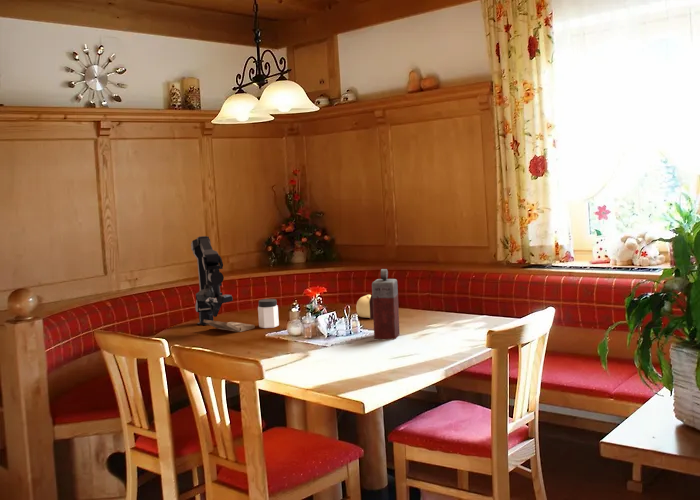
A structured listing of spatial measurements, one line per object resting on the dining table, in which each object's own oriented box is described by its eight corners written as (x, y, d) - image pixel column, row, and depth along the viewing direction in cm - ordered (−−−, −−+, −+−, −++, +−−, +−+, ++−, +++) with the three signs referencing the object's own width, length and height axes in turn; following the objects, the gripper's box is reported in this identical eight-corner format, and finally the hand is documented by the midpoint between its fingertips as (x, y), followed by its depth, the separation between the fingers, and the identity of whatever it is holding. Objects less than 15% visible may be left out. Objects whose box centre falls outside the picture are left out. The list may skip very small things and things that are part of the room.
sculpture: (382, 319, 353) (381, 295, 352) (356, 320, 354) (355, 297, 352) (382, 314, 365) (381, 291, 364) (356, 315, 365) (355, 293, 364)
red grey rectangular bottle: (373, 333, 323) (370, 267, 320) (399, 334, 320) (396, 267, 317) (368, 338, 314) (365, 270, 311) (395, 339, 311) (392, 270, 308)
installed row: (216, 328, 351) (216, 325, 351) (231, 324, 358) (231, 321, 357) (240, 331, 341) (239, 328, 340) (254, 328, 347) (254, 324, 347)
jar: (282, 325, 349) (280, 299, 348) (267, 329, 344) (265, 302, 343) (271, 323, 356) (269, 297, 355) (256, 326, 351) (254, 300, 349)
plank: (203, 321, 345) (204, 319, 345) (215, 327, 351) (216, 325, 351) (226, 325, 335) (227, 322, 335) (239, 331, 340) (240, 328, 341)
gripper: (184, 283, 338) (187, 318, 340) (212, 285, 326) (214, 322, 328) (204, 279, 347) (207, 313, 348) (232, 282, 335) (234, 317, 336)
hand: (215, 316), depth 340 cm, fingers closed
